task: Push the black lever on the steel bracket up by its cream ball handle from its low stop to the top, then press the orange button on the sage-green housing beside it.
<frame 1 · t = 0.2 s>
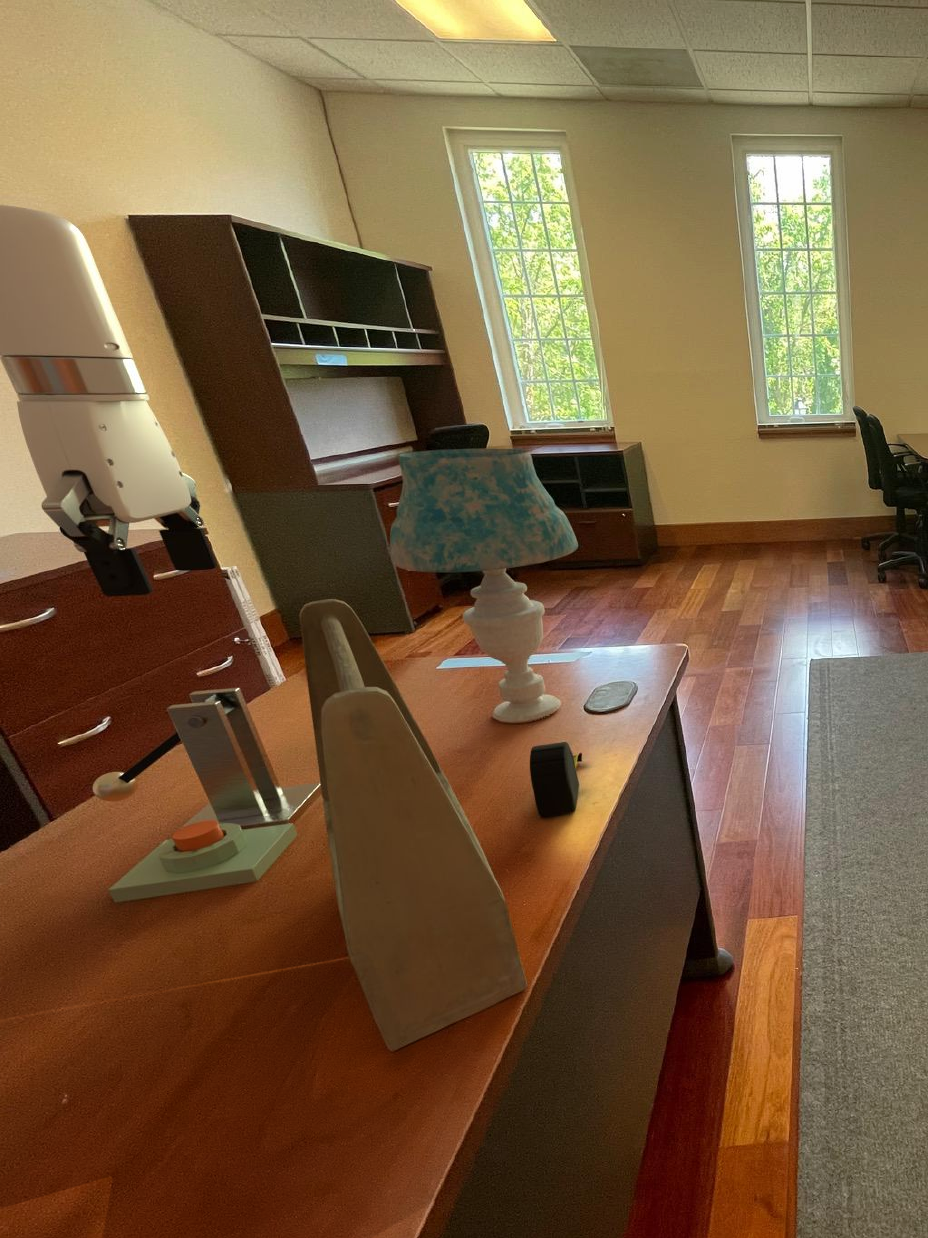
hand: (165, 581, 67), 32 cm above the table, tool pointing down, fingers open, 9 cm apart
button: (198, 836, 76), point 4 cm above the table, slide at 0.1 cm
caddy: (433, 930, 69), on the table
bracket: (255, 815, 87), on the table
table lamp: (528, 712, 116), on the table
tape measure: (562, 790, 94), on the table
lever: (161, 750, 82), point 10 cm above the table, hinge at -35.0°
button box: (213, 866, 78), on the table
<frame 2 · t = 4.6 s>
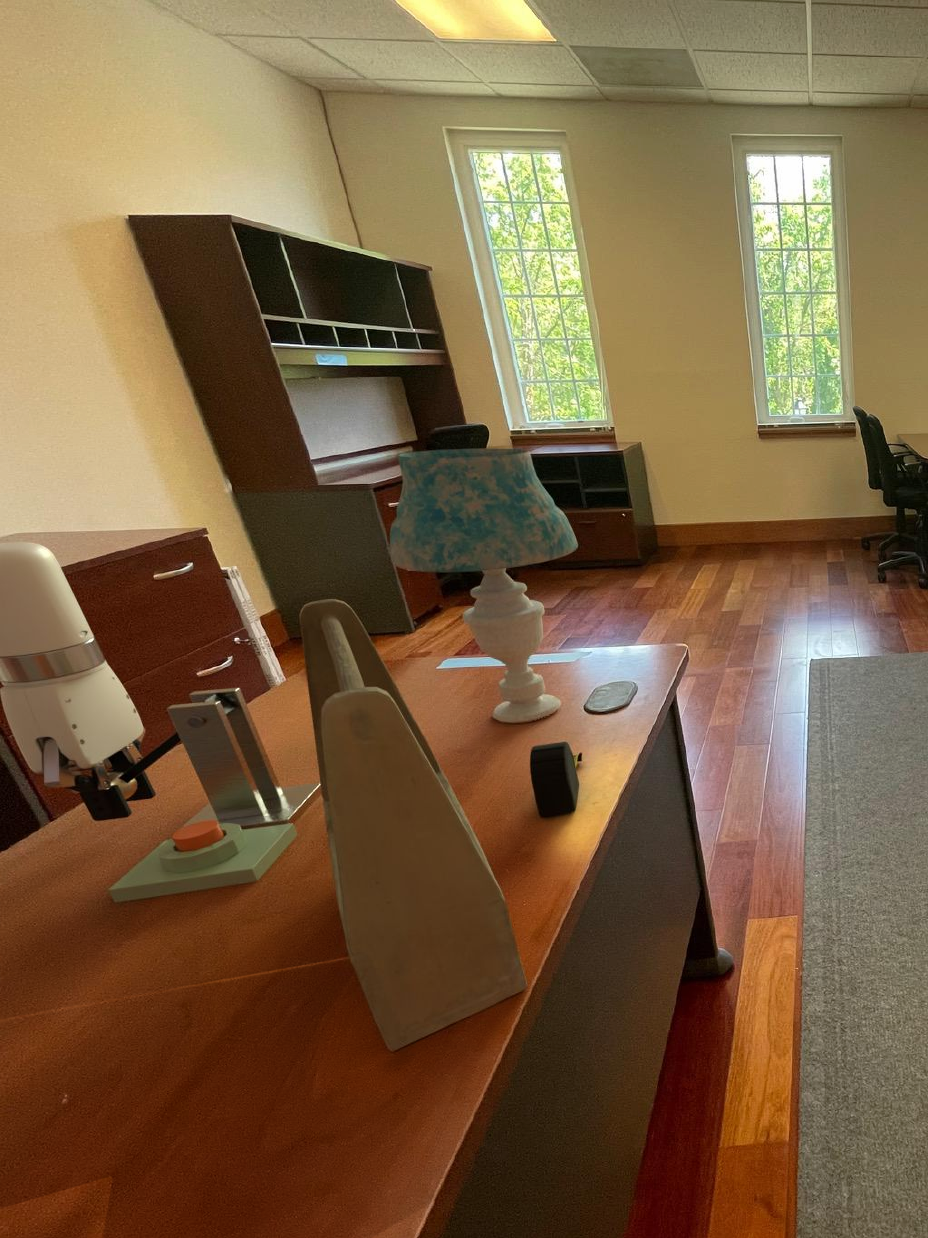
hand: (125, 807, 83), 3 cm above the table, tool pointing down, fingers closed on lever, 3 cm apart
lever: (161, 750, 82), point 10 cm above the table, hinge at -35.0°, touching gripper
everything else where it was.
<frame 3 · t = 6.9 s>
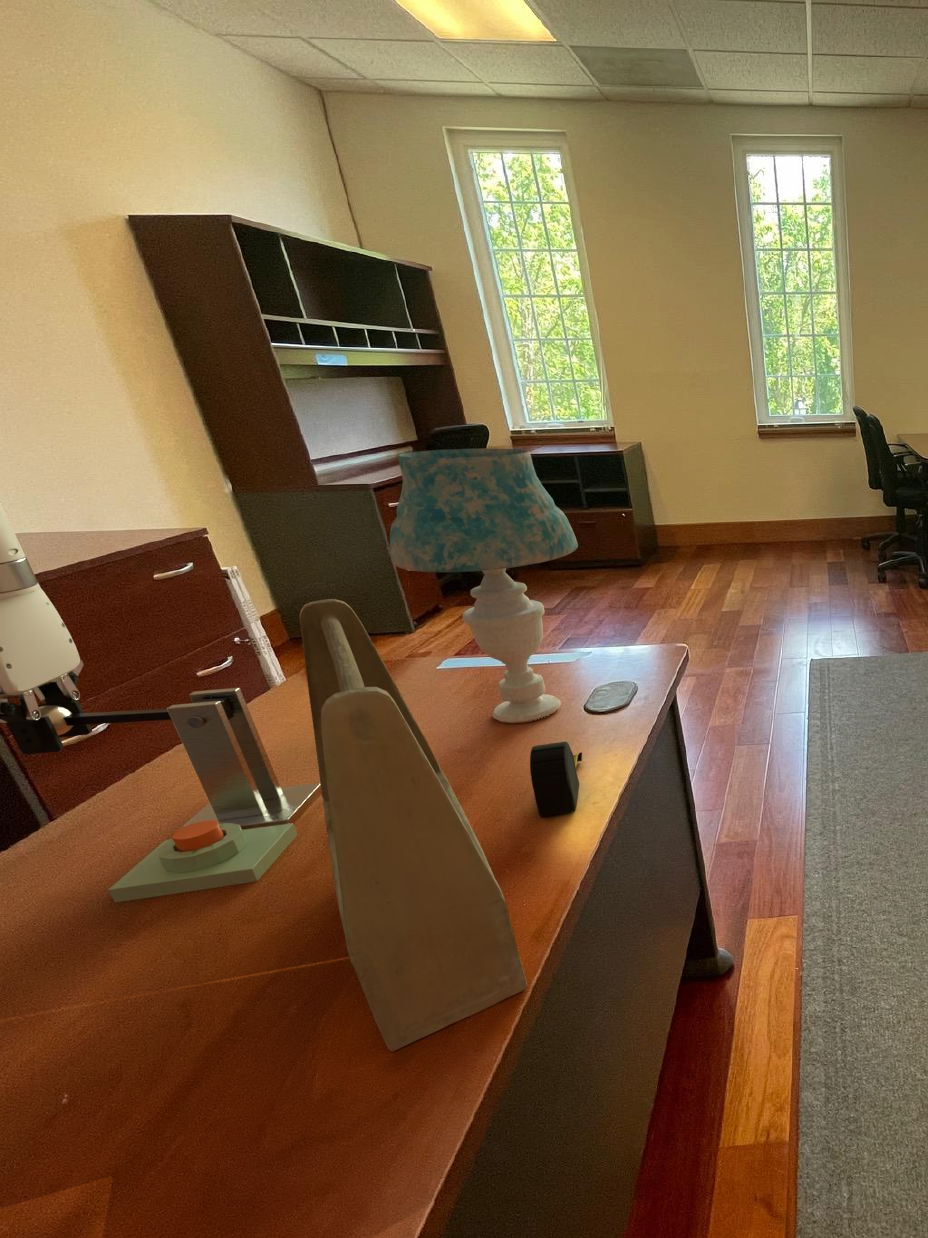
hand: (58, 741, 79), 12 cm above the table, tool pointing down, fingers closed on lever, 3 cm apart
lever: (130, 716, 80), point 14 cm above the table, hinge at 2.9°, touching gripper
everything else where it was.
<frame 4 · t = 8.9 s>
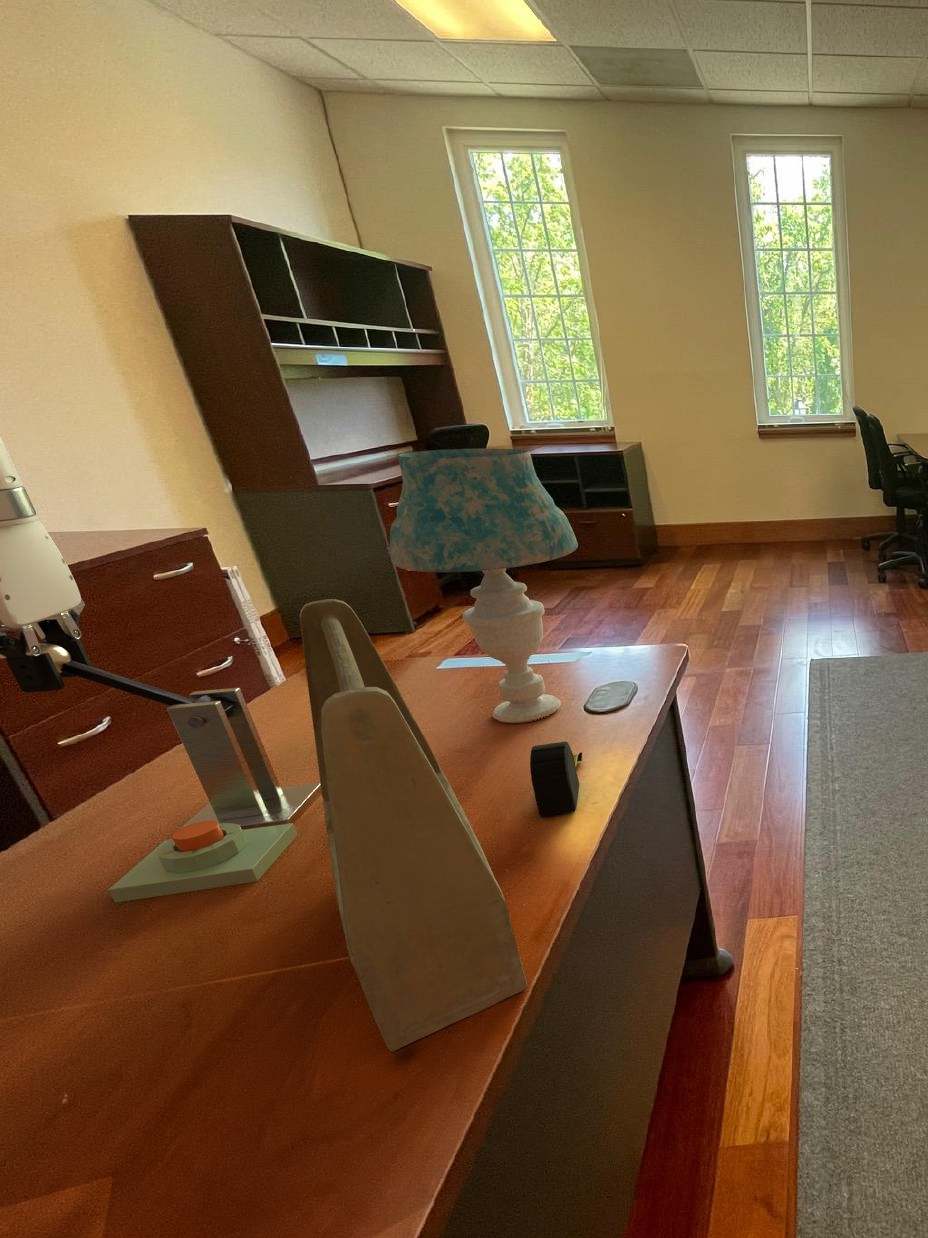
hand: (59, 681, 77), 19 cm above the table, tool pointing down, fingers closed on lever, 3 cm apart
lever: (129, 686, 79), point 18 cm above the table, hinge at 33.2°, touching gripper
everything else where it was.
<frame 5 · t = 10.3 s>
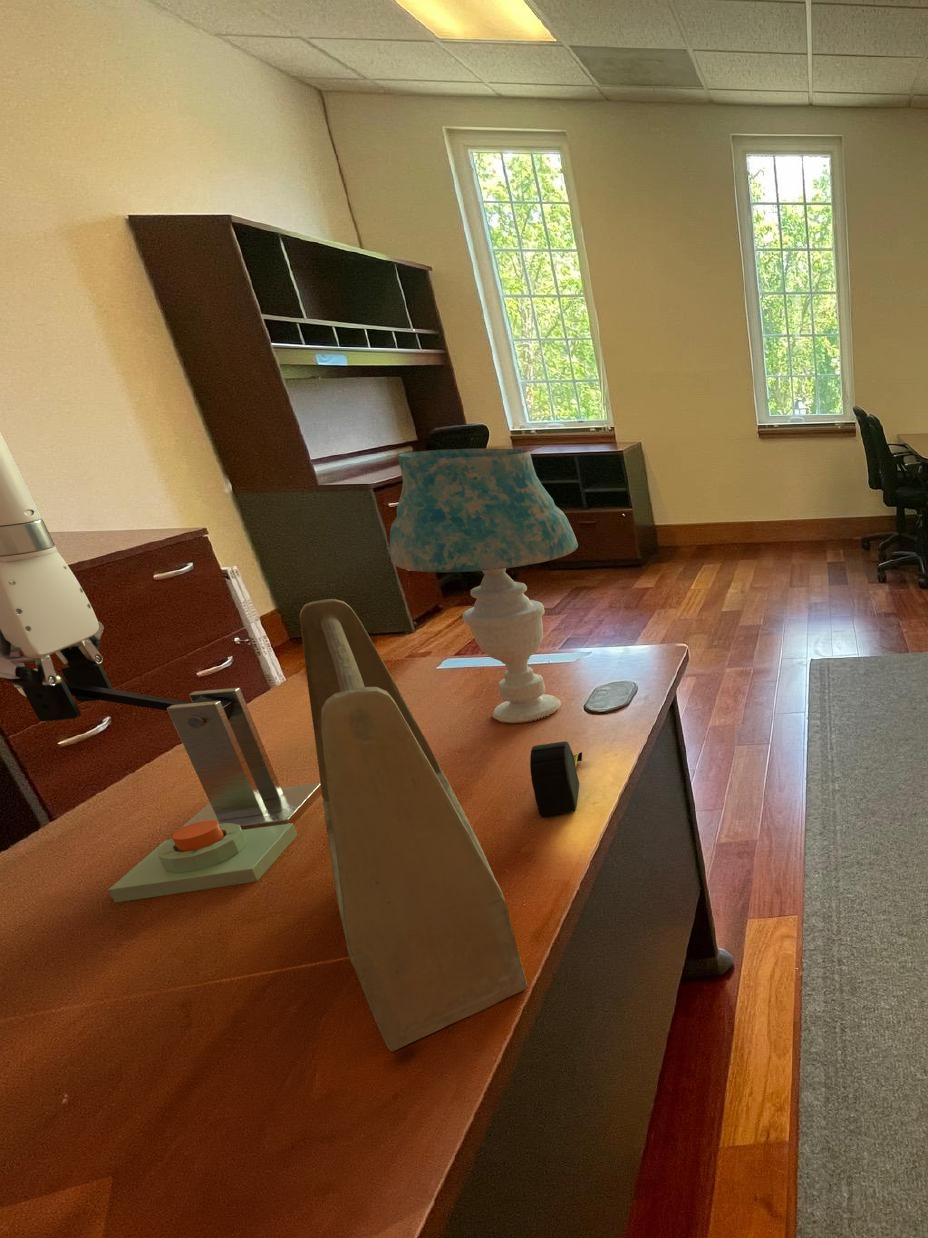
hand: (79, 707, 78), 16 cm above the table, tool pointing down, fingers open, 4 cm apart
lever: (127, 698, 79), point 17 cm above the table, hinge at 20.7°
everything else where it was.
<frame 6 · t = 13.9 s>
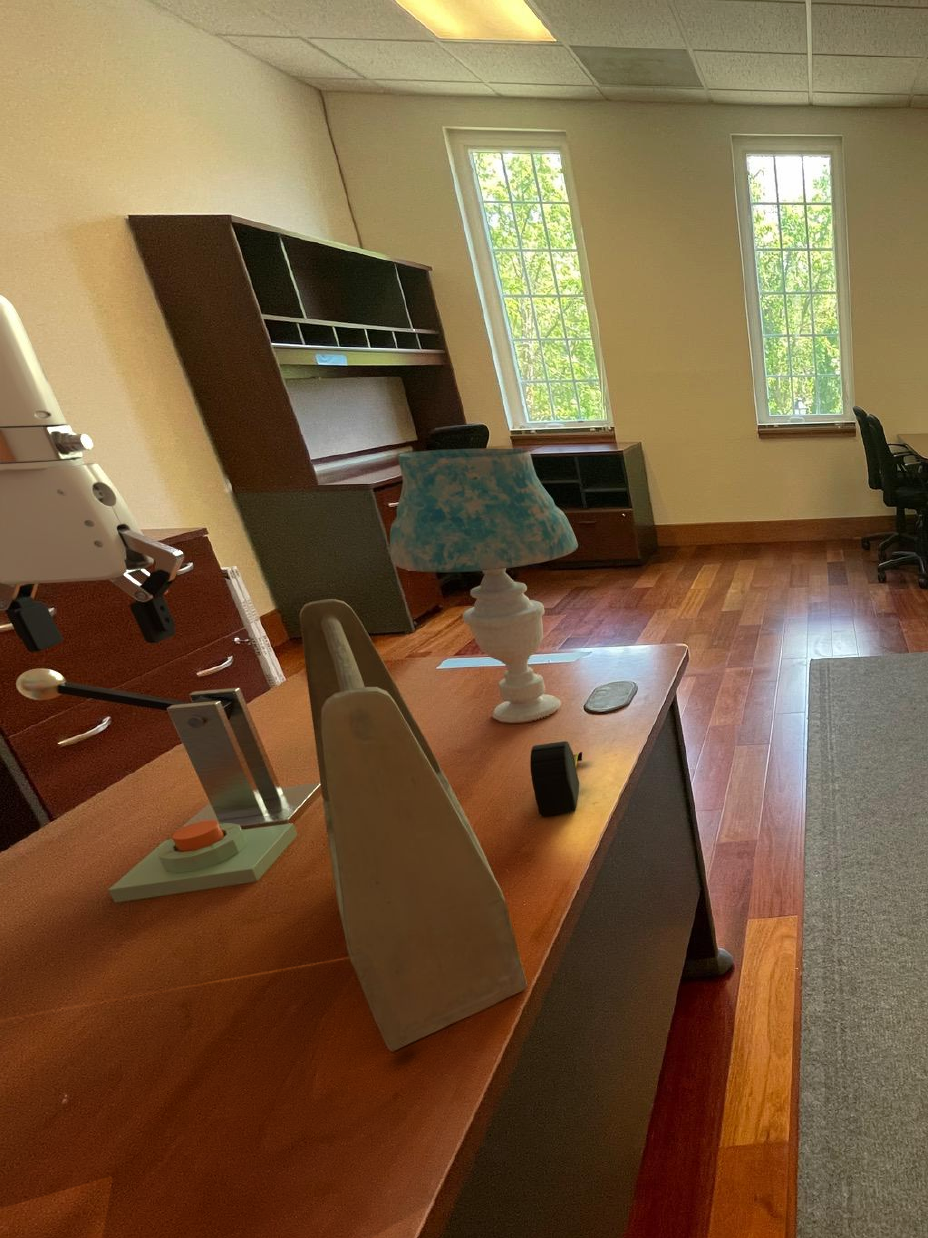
hand: (105, 642, 68), 26 cm above the table, tool pointing down, fingers open, 8 cm apart
nothing on the table moved.
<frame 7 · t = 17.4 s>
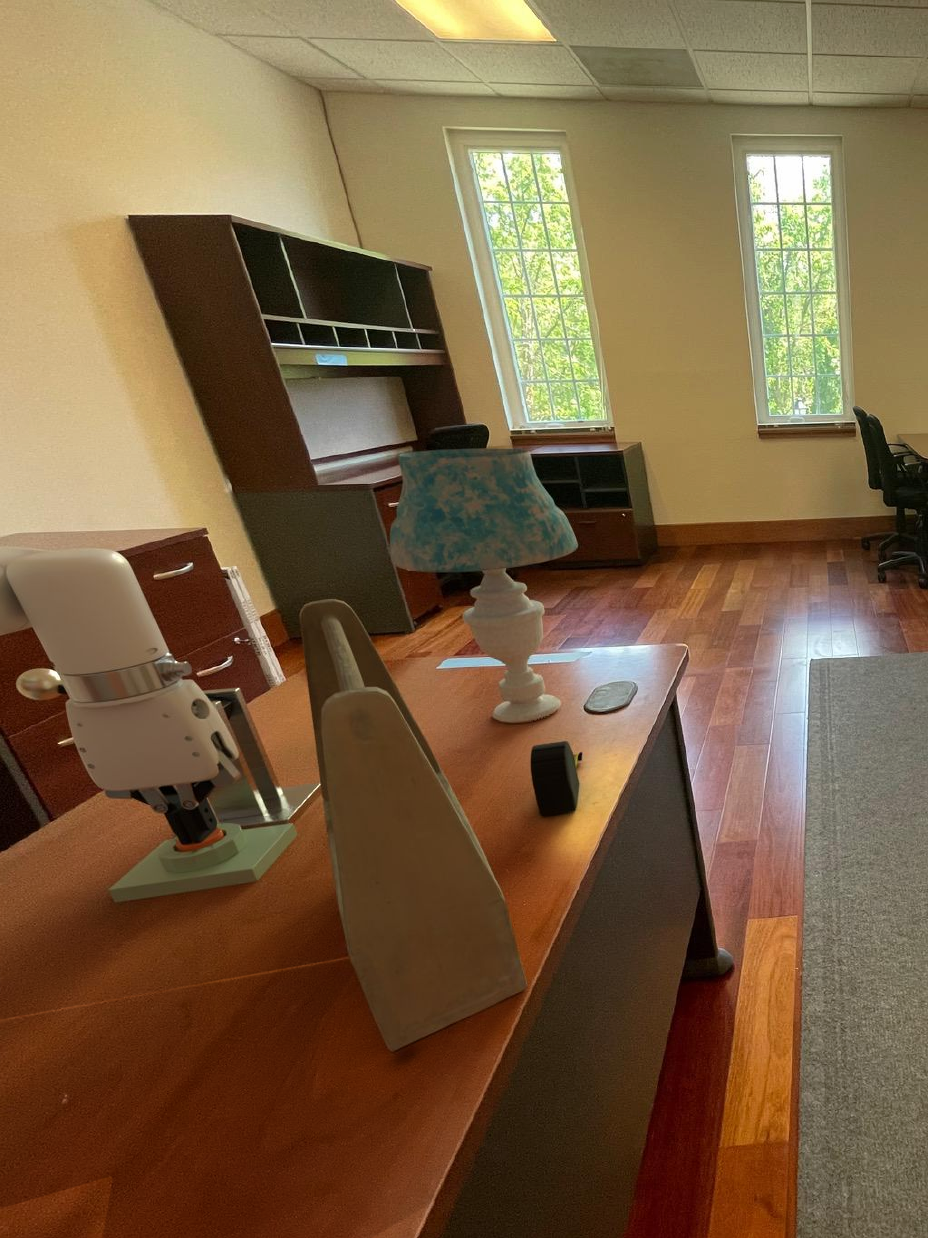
hand: (200, 836, 76), 4 cm above the table, tool pointing down, fingers closed
button: (201, 843, 77), point 3 cm above the table, slide at -0.8 cm, touching gripper
everything else where it was.
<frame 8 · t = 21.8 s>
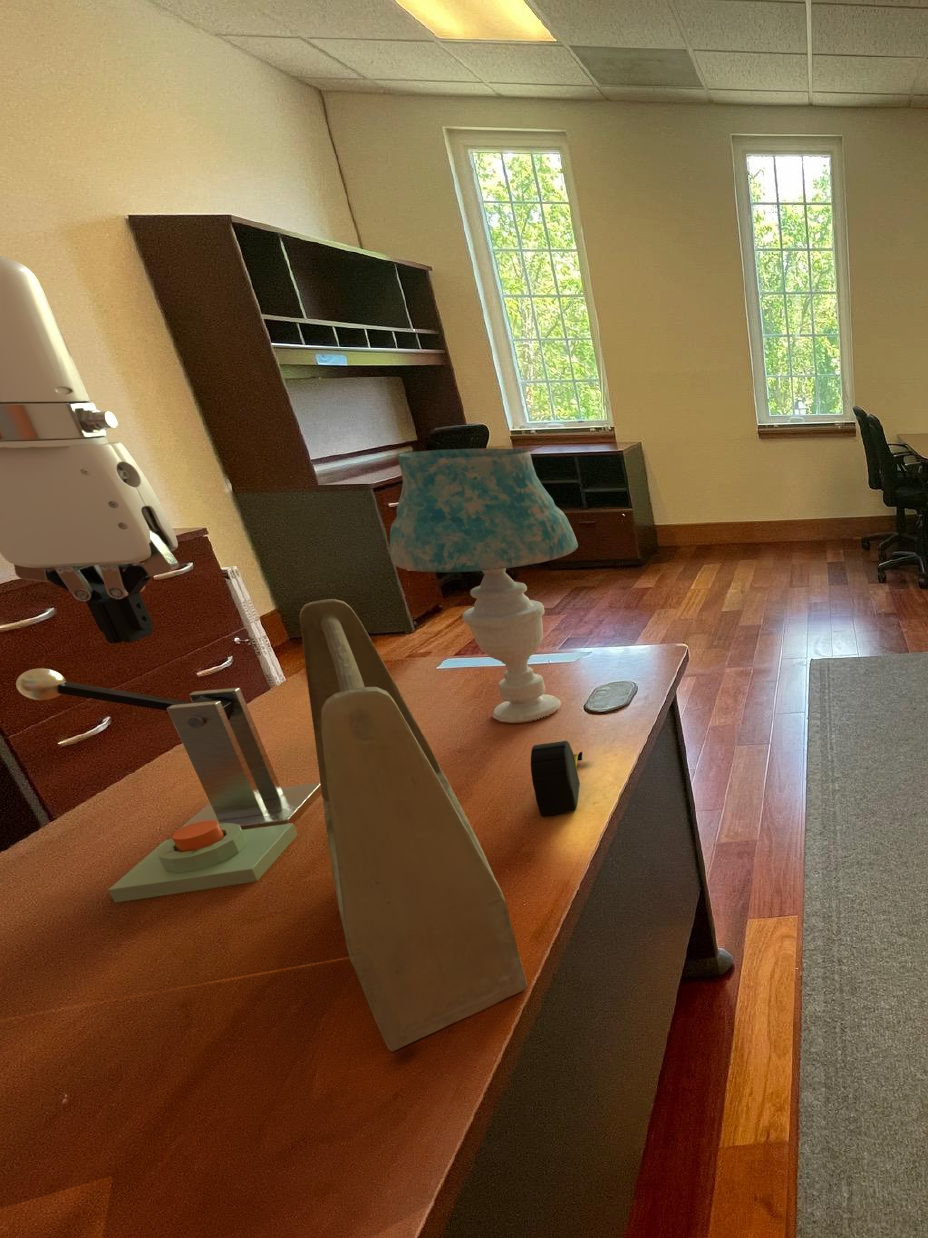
hand: (132, 637, 66), 27 cm above the table, tool pointing down, fingers closed
button: (198, 836, 76), point 4 cm above the table, slide at 0.1 cm
everything else where it was.
at the end: lever at +21° (first picture: -35°); button pushed in 1.1 cm at the most during the clip, back to where it started at the end; button slide at 0.1 cm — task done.
